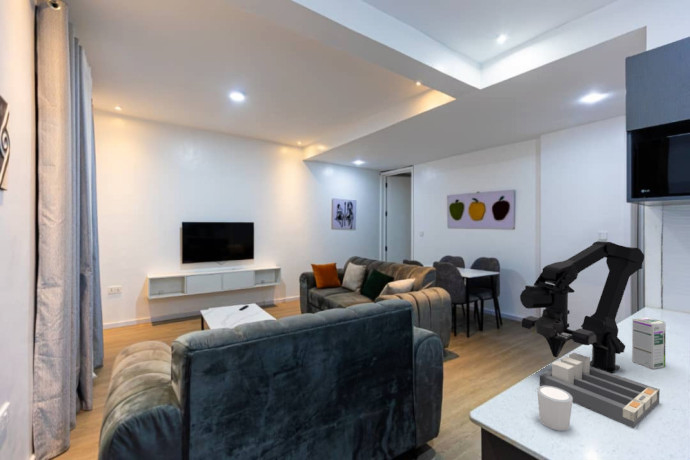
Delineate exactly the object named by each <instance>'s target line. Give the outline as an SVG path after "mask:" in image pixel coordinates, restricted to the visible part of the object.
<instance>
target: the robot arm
mask: <svg viewBox="0 0 690 460" xmlns="http://www.w3.org/2000/svg"><path fill="white" fill-rule="evenodd" d="M604 258H605V259H606V261H605V263H606V265H607V268H608V274H607V277H606V280H605V283H604V286H603V289H602V292H601V295H600V298H599V301H598V304H597V305H596V306H597V307H596V310H595V312H594V313H593V314H591V315H590V316H589V315H585V316H584V318H583V322H582V325H581V326H580V327H581V328H578V329H577V328H576V329H575V330H573V329H570V323H568V315H570V313H571V312H570V310H569V309H568V307H569V305H568V304H569V303H568V302H569V294H571V293H575V290H574V289H573V288H572V287H571V286H570V285H571V284H573V282H575V281H576V280H577V279H578V275H579V274H580V273H581V272H583V271H584V270H586V269H587V268H590V267H591V266H593V265H594V264H596V263H598V262H599V261H601V260H602V259H604ZM644 260H645V254H644V253H643V252H642V250H641V249H640V248H639V247H631V246H630V247H629V246H624V245H621V244H620V245H619V244H617V243H615V242H611V241H603V240H601V241H600V240H597V241H594V242H593V243H592V245H590V246H588V247H586V248H584V249H583V250H582V251H579V252H577V253H576V254H574V255H573V256H571V257H569V258H568V259H566V260H562V261H557V262H553V263H551V264H547V265H545V266H544V267H543V268H542V271H541V273H540V274H539V276H538V277H537V278H536V280H535V282H534V284H533V285H525V289H523V290H522V291H521V293H520V295H519V298H520V300H519V301H520V303H521V304H522V306H523V307H524V308H525V309H528V310H529V309H542V314H541V316H540V317H536V316H532V315H529V316H526V317H523V318H521V321H520V326H521V328H525V329H528V330H531V329H533V328H534V327H535V332H536V333H537V334H539V335H540V336H542V337H544V338H545V340H546V341H547V343H548V346H549V348H550V351H551V354H552V356H553V357H554V358H558V357H559V355H560V354H561V351H562V349H564V347H565V344H566V343H567V342H568V341H570V340H572V341H573V342H574V343H575V344H580V345H584V346H590V345H591V347H592V349H591V352H592V353H591V360H590V366H591V367H594V368H597V369H600V370H603V371H606V372H609V373H612V374H614V373H615V372H616V371H617V370H619V369H620V368H621V366H620V365H619V364H618V365H617V364H616V361H617V359H616V357H617V356H616V355H621V353H625V349H626V344H625V343H624V342H623V341H622V340H621V339H620V338H619V337H618V335H619V328H618V325H617V321H616V318H617V316H618V312H619V309H620V306H621V303H622V300H623V297H624V294H625V291H626V288H627V284H628V282H629V280H630V277H631V276H632V275H634V274H635V273H636V272H638V271H639V270H640V268H641V267H642V264H643V262H644Z"/></svg>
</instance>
